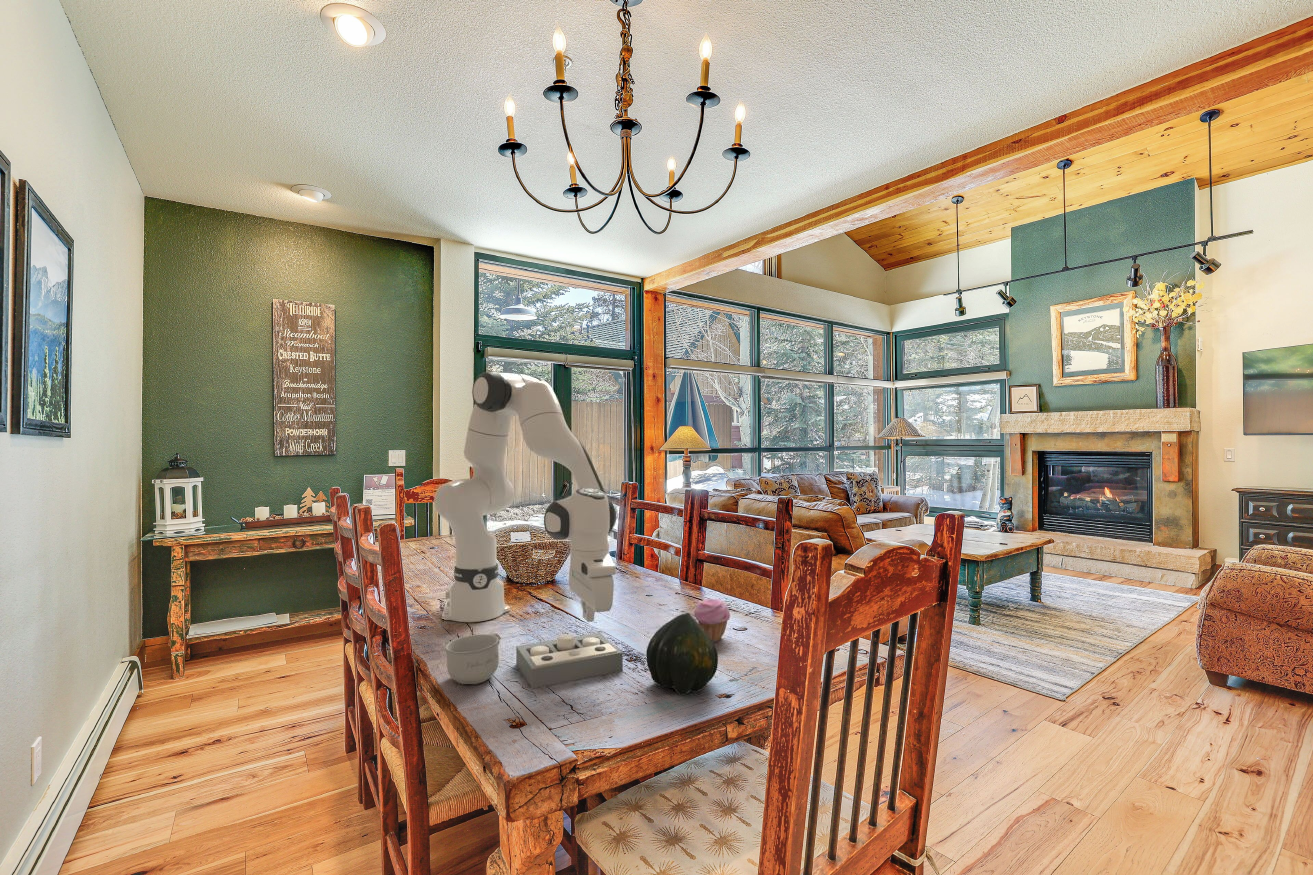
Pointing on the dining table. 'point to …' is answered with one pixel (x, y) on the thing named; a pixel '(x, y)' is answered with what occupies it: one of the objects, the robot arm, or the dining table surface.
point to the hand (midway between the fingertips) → (588, 619)
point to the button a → (539, 650)
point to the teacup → (473, 658)
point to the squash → (682, 655)
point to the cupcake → (712, 617)
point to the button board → (568, 661)
